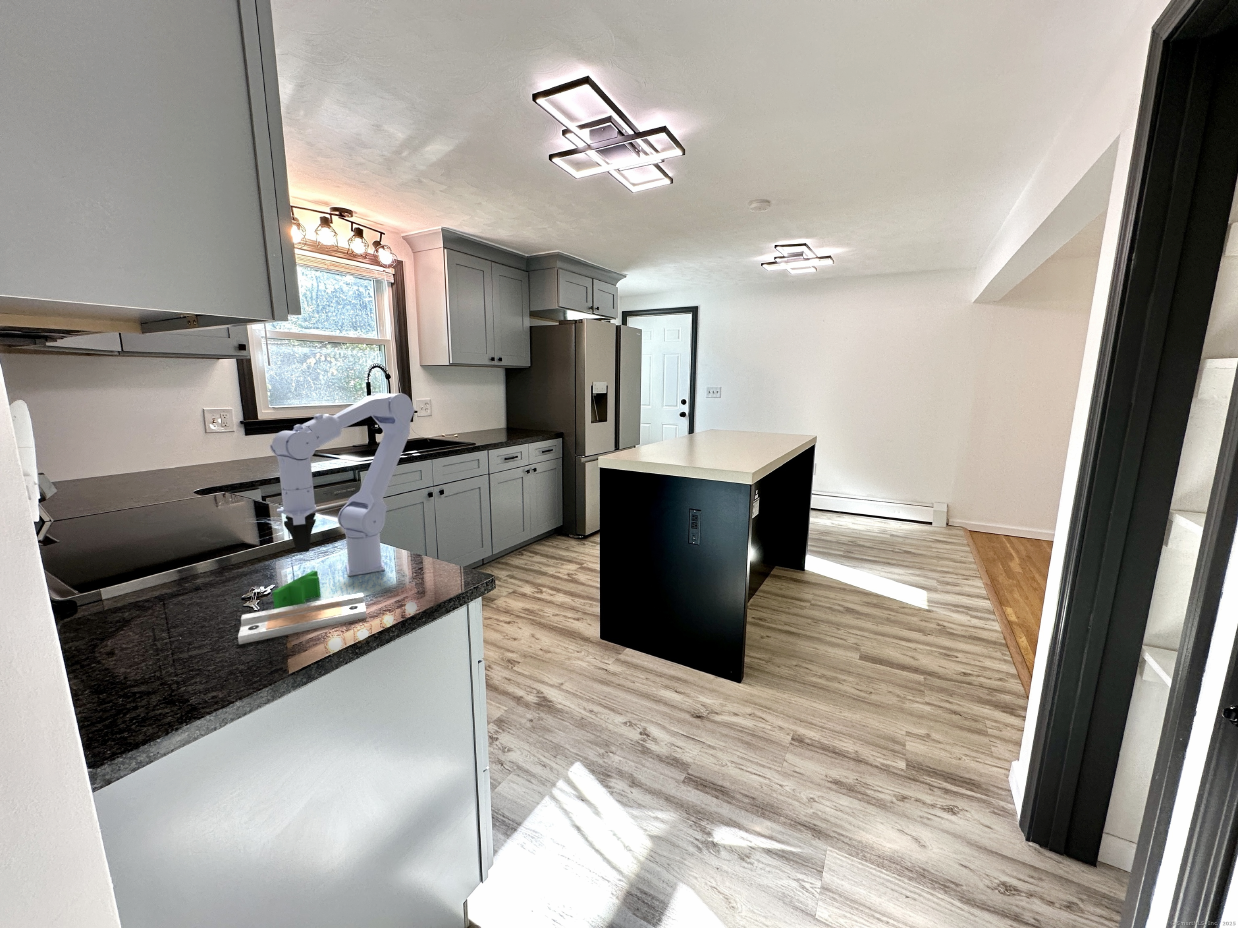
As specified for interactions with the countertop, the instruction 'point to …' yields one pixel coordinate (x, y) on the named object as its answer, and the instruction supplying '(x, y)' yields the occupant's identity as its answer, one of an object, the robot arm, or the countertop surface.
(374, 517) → the robot arm
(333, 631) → the countertop surface
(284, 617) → the rail
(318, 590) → the green angular block
